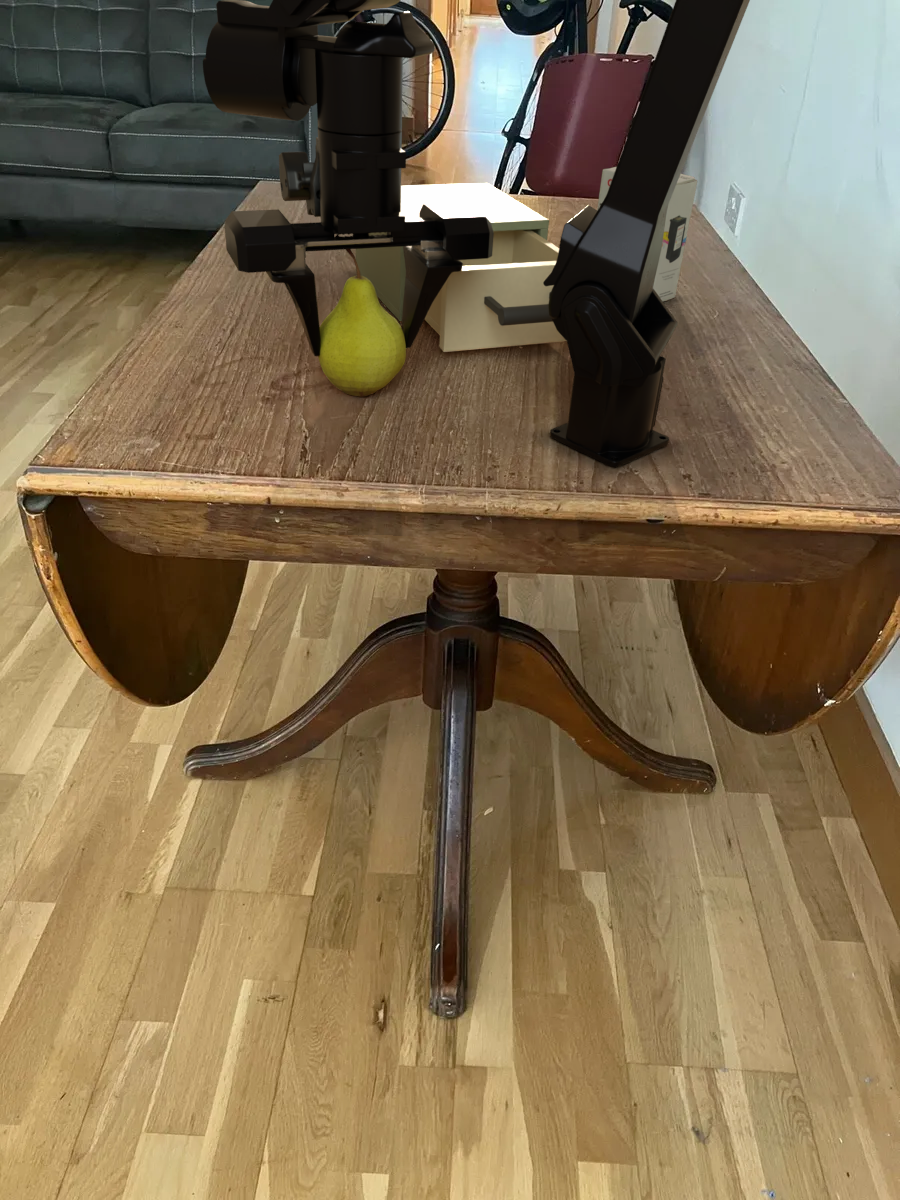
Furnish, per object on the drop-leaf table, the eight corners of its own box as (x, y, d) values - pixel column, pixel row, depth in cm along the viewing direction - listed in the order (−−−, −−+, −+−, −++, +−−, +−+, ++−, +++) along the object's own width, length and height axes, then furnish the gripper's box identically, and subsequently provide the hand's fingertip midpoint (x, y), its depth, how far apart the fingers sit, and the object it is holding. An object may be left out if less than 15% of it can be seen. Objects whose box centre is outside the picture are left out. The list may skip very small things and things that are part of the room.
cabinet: (540, 310, 93) (549, 219, 88) (399, 321, 89) (400, 226, 84) (482, 265, 105) (487, 182, 100) (355, 272, 100) (354, 186, 95)
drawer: (609, 359, 81) (621, 279, 77) (463, 374, 76) (468, 290, 73) (519, 290, 95) (526, 219, 91) (393, 298, 91) (394, 225, 87)
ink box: (583, 286, 100) (599, 166, 93) (611, 277, 103) (628, 161, 96) (650, 307, 96) (671, 183, 89) (677, 297, 98) (699, 177, 92)
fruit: (409, 378, 78) (413, 226, 71) (399, 412, 72) (402, 251, 65) (326, 372, 78) (322, 220, 71) (310, 405, 72) (304, 244, 65)
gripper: (448, 108, 73) (440, 308, 82) (203, 109, 67) (224, 324, 76) (503, 134, 64) (488, 354, 73) (228, 139, 59) (248, 376, 68)
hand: (362, 350), depth 73 cm, fingers closed on fruit, 7 cm apart
